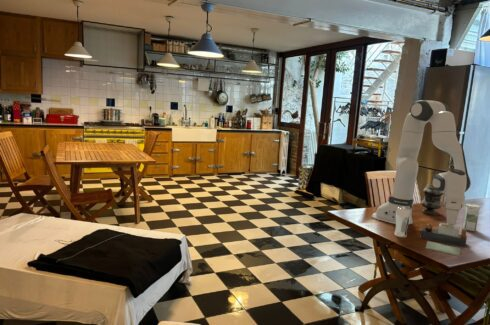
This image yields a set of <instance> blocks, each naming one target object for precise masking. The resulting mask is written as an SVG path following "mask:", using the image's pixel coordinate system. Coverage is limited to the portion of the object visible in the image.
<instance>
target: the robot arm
mask: <svg viewBox="0 0 490 325" xmlns="http://www.w3.org/2000/svg"><path fill="white" fill-rule="evenodd" d="M427 123H430V124H431V141H432V144H433V145H434V146H435V148H437V149H439V150H441V151H443V152H445V153H446V154H447V153H448V155H450V156H451V158H452V160H453V161H452V162H453V167H454V168H451V169H449V170H448V171H446V172H441V173H435V175H433V177H432V179H431V184H432V186H433V188H434V189H435V190H436V191H439V192H444V194H443V195H444V196H443V206H444V207H445V210H446V224H449V229H448V231H449V232H453V226H456V224H457V220H458V217H459V213H460V211H461V210H462V209H463V208H465V199H466V198H465V197H466V196H465V193H466V192H467V191H468V190H469V189H470V188H471V185H472V183H471V182H472V181H471V178H470V175H469V173H468V167H467V163H466V156H465V151H464V147H463V145H462V143H460V142H459V139H458V137H457V127H456V126H457V124H456V120H455V116H454V114H453V112H451V111H450V108H449V106H448V105H447V104H446V103H444V102H442V101H436V100H426V99H421V100H416V101H415V102H412V104H411V105H410V108H409V112H408V113H407V115H406V117H405V119H404V122H403V126H402V129H401V130H402V131H401V136H400V142H399V147H398V149H397V150H398V151H397V155H396V158H395V159H396V161H395V166H396V169H395V170H396V171H395V177H394V181H393V182H394V183H393V189H392V194H390V195H389V196H388V199H387V202H384V203H383V204H380V205H379V206H378V207H377V210H376V212H373V213H372V215H371V218H372V219H375V220H379V221H382V222H385V223H386V222H387V223H390V224H394V225H396V210H397V206H406V207H409V208H411V216H410V221H409V224H408V225H412V224H413V215H412V214H413V206H414V191H415V187H416V181H417V176H418V172H419V162H418V157H419V153H420V150H421V147H422V143H423V142H422V141H423V137H424V131H425V126H426V124H427Z"/></svg>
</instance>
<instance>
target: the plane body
mask: <svg viewBox="0 0 490 325" xmlns="http://www.w3.org/2000/svg"><path fill="white" fill-rule="evenodd" d="M433 226H434V225H433V224H432V223H429V222H428V223H425V226H422V228H421V230H420V237H419V238H421V239H424V240H427V241H432V242H436V243H441V244H445V245H447V244H448V245H450V246H452V245H453V246H455V247H459V248H461V247H462V248H466V246H467V241H468V240H467V237H468V236H467V231H468V230H467V229H463V227H462V228H461V233H459V236H458V237H453V236H449V235H444V234H439V233H438V229H436V228H433Z"/></svg>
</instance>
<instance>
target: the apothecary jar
mask: <svg viewBox="0 0 490 325" xmlns="http://www.w3.org/2000/svg"><path fill="white" fill-rule="evenodd" d="M422 191H423V194H424V196H423V199H422V200H421V202H420V204H421V205H422V207H424V209H422V210H421V212H422V213H424V214H427V215H435V216H436V215H439V214H440V213H439V212H438V211H437V210H439V209H441V208H442V206H443V205H442V204H443V203H441V199H442V196H443V195H445V192H439V191H436V190H435V189H434V188H433V186H432V183H431V184H430V183H427V184H426V186H425V187H424V188H423V189H422Z"/></svg>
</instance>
